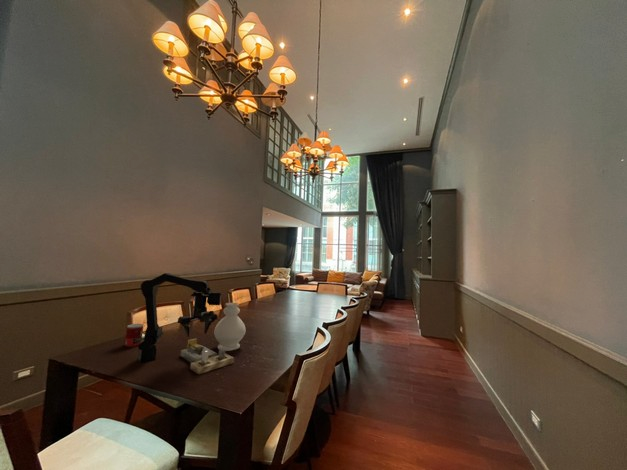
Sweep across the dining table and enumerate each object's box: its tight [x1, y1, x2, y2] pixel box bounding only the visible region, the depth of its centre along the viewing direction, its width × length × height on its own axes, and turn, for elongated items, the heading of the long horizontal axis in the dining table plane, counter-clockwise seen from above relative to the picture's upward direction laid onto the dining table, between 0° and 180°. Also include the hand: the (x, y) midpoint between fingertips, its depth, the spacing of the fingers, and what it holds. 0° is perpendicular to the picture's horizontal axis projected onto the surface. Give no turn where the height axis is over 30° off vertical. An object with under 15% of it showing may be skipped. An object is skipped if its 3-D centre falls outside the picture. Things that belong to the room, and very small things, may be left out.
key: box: [186, 338, 201, 351], centre depth 134 cm, size 4×8×4 cm, turn 51°
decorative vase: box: [213, 302, 246, 352], centre depth 149 cm, size 18×18×25 cm
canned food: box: [124, 323, 144, 348], centre depth 144 cm, size 8×8×11 cm
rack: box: [190, 349, 235, 375], centre depth 122 cm, size 18×8×6 cm, turn 142°
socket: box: [180, 344, 218, 364], centre depth 131 cm, size 11×16×5 cm
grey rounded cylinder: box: [201, 350, 209, 366], centre depth 119 cm, size 3×3×8 cm
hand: (196, 335), depth 131 cm, fingers open, 9 cm apart
